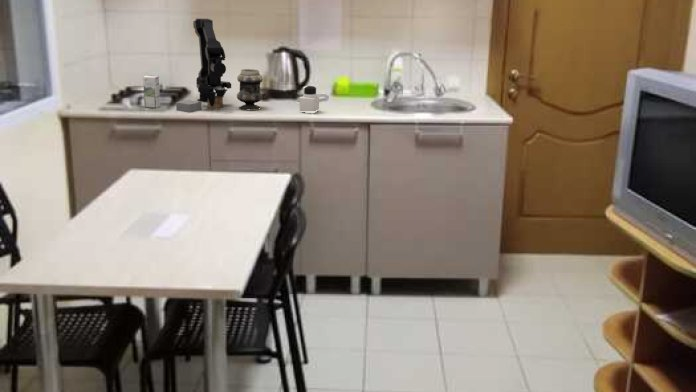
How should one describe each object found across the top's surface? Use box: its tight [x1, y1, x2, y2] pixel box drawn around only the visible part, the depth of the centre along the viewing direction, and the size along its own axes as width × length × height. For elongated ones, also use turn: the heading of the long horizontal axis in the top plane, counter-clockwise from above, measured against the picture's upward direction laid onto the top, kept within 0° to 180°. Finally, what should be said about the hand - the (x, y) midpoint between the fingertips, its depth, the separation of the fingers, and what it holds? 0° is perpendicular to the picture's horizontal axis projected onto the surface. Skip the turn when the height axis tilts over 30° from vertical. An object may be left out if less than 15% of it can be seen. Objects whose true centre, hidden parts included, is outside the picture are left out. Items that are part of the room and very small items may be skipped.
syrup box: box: [142, 74, 161, 109], centre depth 343 cm, size 6×6×14 cm
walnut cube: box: [207, 95, 224, 110], centre depth 348 cm, size 5×5×5 cm
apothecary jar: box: [236, 68, 264, 110], centre depth 347 cm, size 12×12×18 cm
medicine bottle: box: [299, 85, 320, 111], centre depth 345 cm, size 7×7×12 cm
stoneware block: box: [175, 99, 202, 113], centre depth 340 cm, size 8×8×4 cm
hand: (215, 105), depth 348 cm, fingers closed on walnut cube, 5 cm apart
